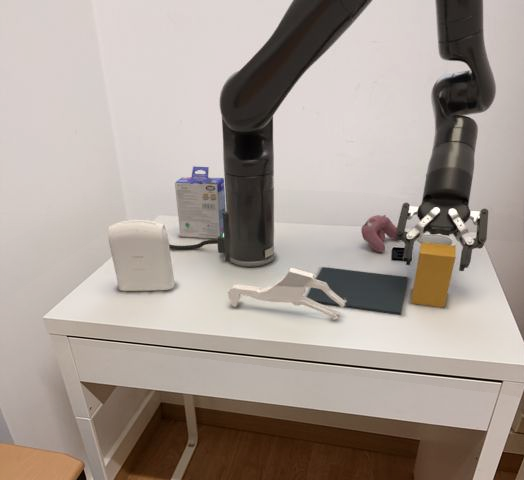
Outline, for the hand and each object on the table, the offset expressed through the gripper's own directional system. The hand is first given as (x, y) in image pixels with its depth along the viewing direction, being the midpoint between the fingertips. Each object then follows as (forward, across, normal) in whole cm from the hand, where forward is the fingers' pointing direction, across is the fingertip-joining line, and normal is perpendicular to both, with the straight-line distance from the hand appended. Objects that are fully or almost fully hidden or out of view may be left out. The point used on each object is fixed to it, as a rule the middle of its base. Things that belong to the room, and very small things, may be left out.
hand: (434, 266), depth 80 cm
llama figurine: (+13, -22, -4) cm, 26 cm away
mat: (+4, -12, +4) cm, 13 cm away
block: (+4, 0, +4) cm, 6 cm away
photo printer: (+12, -49, -3) cm, 51 cm away
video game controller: (-12, -11, +20) cm, 26 cm away
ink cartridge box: (-8, -50, +16) cm, 53 cm away
